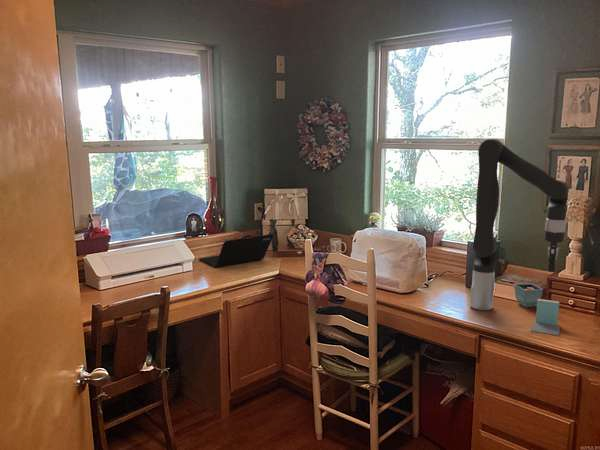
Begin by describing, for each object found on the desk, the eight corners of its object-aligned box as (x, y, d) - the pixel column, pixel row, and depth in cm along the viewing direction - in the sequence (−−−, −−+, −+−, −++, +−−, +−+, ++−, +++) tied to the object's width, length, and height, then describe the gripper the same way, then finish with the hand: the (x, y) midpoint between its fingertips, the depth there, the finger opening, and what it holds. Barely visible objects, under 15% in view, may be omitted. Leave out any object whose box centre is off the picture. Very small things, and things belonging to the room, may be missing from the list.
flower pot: (541, 308, 228) (543, 289, 226) (523, 309, 226) (525, 290, 225) (530, 301, 236) (531, 283, 235) (512, 303, 235) (514, 284, 233)
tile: (535, 323, 210) (537, 300, 208) (535, 321, 212) (537, 298, 210) (557, 326, 206) (559, 303, 204) (557, 324, 208) (559, 301, 206)
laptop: (245, 253, 335) (244, 224, 332) (274, 265, 305) (274, 233, 301) (198, 260, 317) (196, 230, 313) (224, 274, 286) (223, 240, 283)
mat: (530, 331, 201) (530, 330, 201) (532, 323, 210) (532, 322, 210) (558, 335, 197) (559, 334, 196) (559, 327, 205) (559, 326, 205)
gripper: (545, 226, 216) (542, 264, 219) (543, 232, 204) (540, 272, 207) (565, 227, 213) (562, 266, 216) (564, 233, 200) (561, 275, 204)
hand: (551, 269), depth 211 cm, fingers open, 4 cm apart
